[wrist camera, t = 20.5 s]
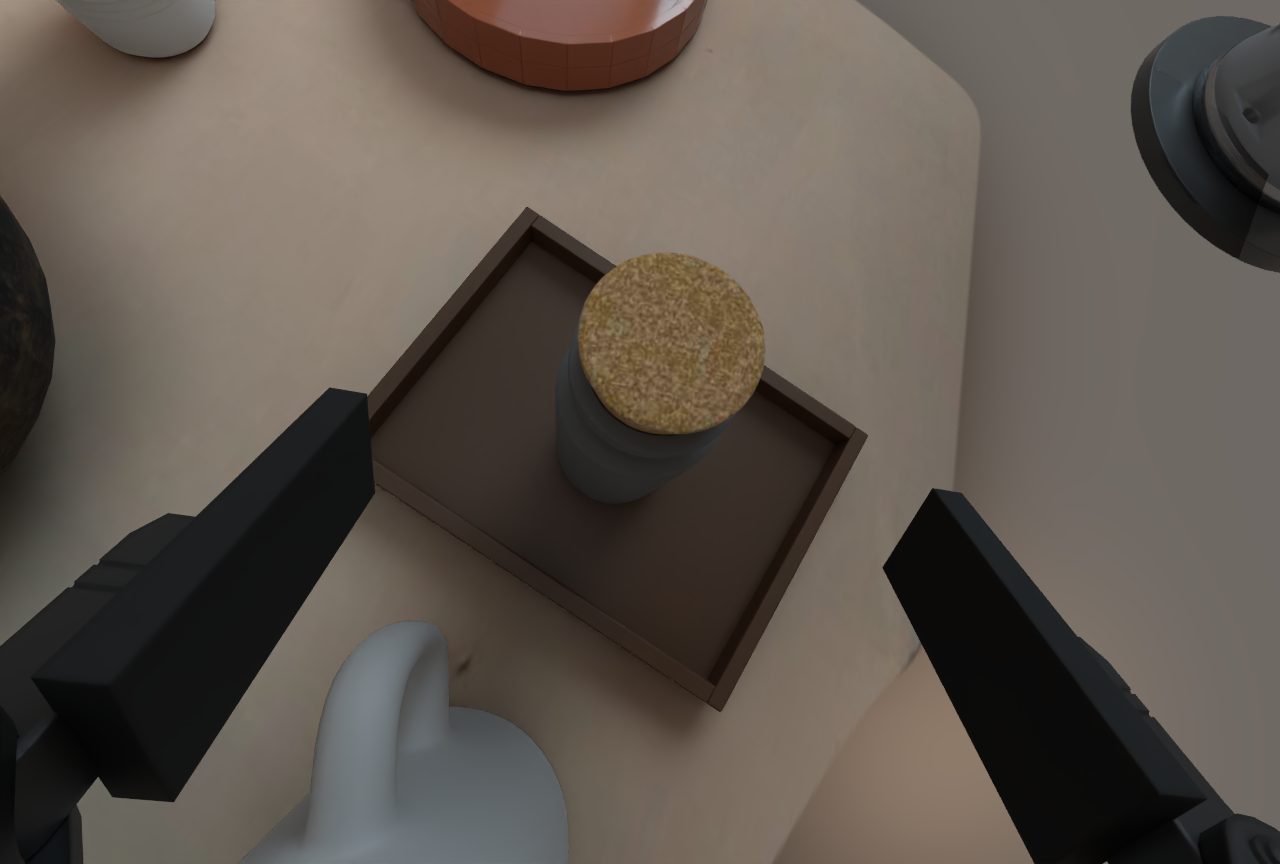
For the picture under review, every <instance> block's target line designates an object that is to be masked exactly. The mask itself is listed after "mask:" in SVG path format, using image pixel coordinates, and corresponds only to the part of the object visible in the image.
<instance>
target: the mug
mask: <svg viewBox="0 0 1280 864" xmlns="http://www.w3.org/2000/svg"><path fill="white" fill-rule="evenodd" d="M238 864H569V835H568V819H567V813H566V807H565V802H564V797H563V794H562V790H561V787H560V784H559V781H558V779H557V777H556V775H555V772H554V770H553V768H552V766H551V764H550V763H549V761H548V760H547V758H546V757H545V755H544V753H543V752H542V751H541V749H540V748H539V747H538V746H537V745H536V744H535V742H534V741H533V740H532V739H531V738H530V737H529V736H528V735H527V734H525V733H524V732H523V731H522V730H521V729H520V728H518V727H517V726H515V725H514V724H512V723H510V722H509V721H507V720H506V719H503V718H501V717H499V716H497V715H495V714H492V713H489V712H486V711H482V710H479V709H474V708H467V707H449V655H448V646H447V642H446V638H445V637H444V635H443V633H442V632H441V630H440V629H439V628H438V627H436V626H435V625H433V624H430V623H427V622H419V621H404V622H398V623H394V624H391V625H388V626H386V627H383V628H381V629H379V630H377V631H375V632H374V633H372V634H370V635H369V636H368V637H366V638H365V639H364V640H363V641H362V642H361V643H360V644H359V645H358V646H357V647H356V648H355V649H354V650H353V651H352V653H351V654H350V655H349V656H348V658H347V659H346V660H345V661H344V663H343V664H342V666H341V667H340V669H339V671H338V673H337V674H336V676H335V678H334V679H333V682H332V684H331V687H330V689H329V692H328V694H327V697H326V700H325V704H324V707H323V711H322V715H321V718H320V723H319V729H318V734H317V739H316V746H315V754H314V761H313V770H312V779H311V789H310V793H309V794H308V795H307V796H306V797H305V798H304V799H303V800H302V801H301V802H300V803H299V804H298V805H297V806H296V807H295V808H294V809H293V810H292V811H291V812H290V813H289V814H288V815H287V816H286V817H284V818H283V819H282V820H281V821H280V822H279V823H278V824H277V825H276V826H275V827H274V828H273V829H272V830H271V831H270V832H269V833H268V834H267V835H266V836H265V837H264V838H263V839H262V840H261V841H260V842H259V843H258V844H257V845H256V846H255V847H254V848H253V849H252V850H251V851H250V852H249V853H248V854H247V855H246V856H245V857H244V858H243V859H242V860H241V861H240V862H239V863H238Z"/></svg>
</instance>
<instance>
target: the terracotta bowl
mask: <svg viewBox="0 0 1280 864" xmlns="http://www.w3.org/2000/svg"><path fill="white" fill-rule="evenodd" d="M411 1H412V3H413V5H414V7H415V9H416V10H417V12H418V14H419V15H420V16H421V17H422V18H423V19H424V20H425V22H426V23H427V24H428V25H429V26H430V27H431V28H432V29H433V30H434V31H435V32H436V34H437V35H438V36H439V37H440V38H441V39H442V40H443V41H444V42H445V43H446V44H447V45H449V46H450V47H452V48H453V49H455V50H456V51H457V52H459V53H460V54H462V55H463V56H465V57H466V58H468V59H469V60H471V61H472V62H474V63H475V64H477V65H478V66H480V67H483V68H484V69H486V70H489V71H492V72H494V73H497V74H499V75H502V76H504V77H507V78H510V79H512V80H515V81H517V82H520V83H524V84H525V85H531V86H538V87H544V88H550V89H556V90H563V91H573V90H589V89H605V88H611V87H615V86H618V85H621V84H624V83H627V82H630V81H634V80H637V79H640V78H643V77H646V76H648V75H649V74H651V73H652V72H654V71H655V70H657V69H658V68H660V67H662V66H663V65H665V64H666V63H668V62H669V61H671V60H672V59H674V58H675V57H676V56H677V54H678V53H679V52H680V51H681V49H682V48H683V47H684V46H685V45H686V43H687V42H688V41H689V40H690V39H691V37H692V36H693V35H694V34H695V32H696V30H697V28H698V25H699V22H700V20H701V17H702V14H703V12H704V9H705V6H706V4H707V0H411Z"/></svg>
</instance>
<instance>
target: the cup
mask: <svg viewBox="0 0 1280 864" xmlns="http://www.w3.org/2000/svg"><path fill="white" fill-rule="evenodd" d="M56 1H57V2H59V3H60V4H61V5H62V6H63V7H64V8H65V9H66V10H67V11H68V12H69V13H71V14H72V15H73V16H74V17H75V18H76V19H78V20H79V21H80V22H81V23H82V24H83V25H85V26H86V27H87V28H88V29H89V30H91V31H92V32H93V33H94V34H95V35H96V36H98V37H99V38H100V39H101V40H102V41H104V42H105V43H107V44H108V45H110V46H111V47H113V48H115V49H117V50H120V51H122V52H124V53H128V54H132V55H136V56H143V57H152V58H159V57H169V56H175V55H178V54H181V53H184V52H186V51H188V50H190V49H192V48H194V47H195V46H196V45H198V44H199V43H200V42H201V41H202V40H203V39H204V38H205V37H206V36H207V34H208V32H209V30H210V28H211V26H212V24H213V22H214V18H215V13H216V12H215V2H214V0H56Z"/></svg>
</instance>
